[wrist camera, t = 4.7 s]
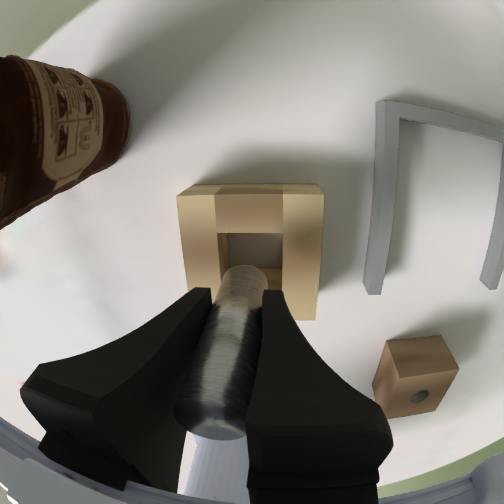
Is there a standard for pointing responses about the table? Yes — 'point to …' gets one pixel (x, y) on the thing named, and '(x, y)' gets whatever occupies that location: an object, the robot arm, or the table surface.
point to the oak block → (255, 221)
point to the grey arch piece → (385, 180)
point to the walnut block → (413, 376)
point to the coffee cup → (53, 132)
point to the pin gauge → (225, 359)
